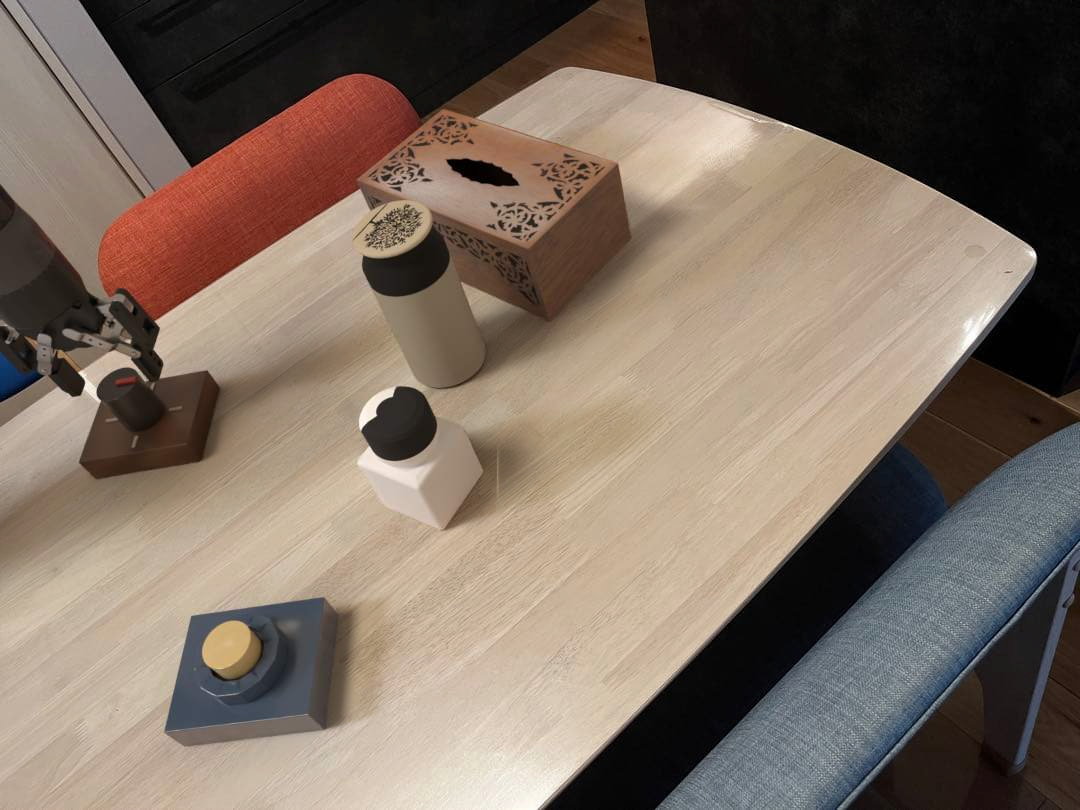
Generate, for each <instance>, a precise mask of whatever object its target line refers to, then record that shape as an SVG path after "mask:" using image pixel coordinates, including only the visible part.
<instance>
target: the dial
mask: <svg viewBox="0 0 1080 810" xmlns="http://www.w3.org/2000/svg"><path fill="white" fill-rule="evenodd" d="M95 390H96V391H95V393H96V397H97V398H98V400H99V401H100V402H101V401H102V403H103V404H104V405H105V406H106V407H107V408H108V409H109V410H110V411H111V412H112V413H113V415H114V416H115V417H116V418H117V419H118V420H119V421H120V422H121V423H122V424H123V426H124V427H125V428H126V429H128V430H130V431H141V430H144V429H146V428H148V427H150V426H152V425H153V424H154V423H155V422H157V420H158V419H159V418H160V417H161V415H162V413H163V410H164V405H163V402H162V401H161V400H160V399H159V397H158V396H157V395H156V394H155V393H154V391H153V390H152V389H151V388H150V387H149V385H148V384H147V383H146V382H145V380H144V378H143V377H142V376H141V375H140V374H139V372H138V371H137V370H136V369H134V368H132V367H130V366H129V367H128V366H127V367H126V366H125V367H120V368H117V369H115V370H113V371H111V372H109V373H108V374H106V375H105V376H104V377H102V379H101V380H100V382H99V383H98V385H97V387H96V389H95Z"/></svg>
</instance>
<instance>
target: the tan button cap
mask: <svg viewBox="0 0 1080 810" xmlns="http://www.w3.org/2000/svg"><path fill="white" fill-rule="evenodd" d="M261 652H262V644H261V640H260V639H259V637H258V636H257V635H256V634H255V633H254V632H253V631H252V630H251V629H250V628H249V627H248V626H247V625H246V624H244V623H243V622H240V621H228V622H225V623H222V624H220V625H219V626H217V627H216V628H215V629H214V630H212V631H211V633H210V634H209V635H208V636H207V638H206V640H205V642H204V644H203V648H202V657H203V660H204V662H205V663H206V664H207V665H208V666H209V667H210V668H211V669H212V670H213V671H215V672H216V673H217V674H218V675H219V676H221V677H223V678H225V679H236V678H240V677H242V676H244V675H246V674H247V673H248V672H250V671H251V670H252V669H253V668H254V667H255V665H256V664H257V662H258V661H259V659H260V656H261Z"/></svg>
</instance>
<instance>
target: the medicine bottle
mask: <svg viewBox="0 0 1080 810" xmlns="http://www.w3.org/2000/svg"><path fill="white" fill-rule="evenodd" d="M358 427H359V430H360V433H361V434H362V436H363V438H364V440H365V441H366V443H367V444H368V447H367V448H366V449H365V451H364V452H363V453H362V454H361V456H360V457H359V458H358V460H357V466H358V468H359V470H360V471H361V472H362V475H363V476H364V478H365V479H366V481H367V483H368V484H369V485H370V487H371V489H372V490H373V491H374V493H375V495H376V496H377V498H378V500H379V501H380V503H381V504H382V506H383V507H385V508H387V509H390V510H392V511H394V512H396V513H398V514H401V515H404V516H405V517H408V518H410V519H413V520H415V521H417V522H420V523H421V524H425V525H426V526H428V527H432V528H434V529H435V530H439V531H444V530H445V529H446V528H447V526H448V525H449V523H450V522H451V520H452V519H453V518H454V516H455V515H456V513H457V511H459V509H460V507H461V506H462V504H463V503H464V501H465V500H466V498H467V497H468V495H469V494H470V493H471V491H473V488H474V487H475V485H476V484H477V482H478V481H479V479H480V478H481V477H482V475H483V474H484V468H483V466H482V464H481V462H480V460H479V457H478V456H477V453H476V450H475V449H474V446H473V445H472V442H471V440H470V437H469V435H468V433H467V431H466V429H465V426H463V425H462V424H459V423H456V422H453V421H451V420H448V419H445V418H442V417H440V416H437V415H435V413H434V411H433V409H432V407H431V405H430V402H429V401H428V399H427V397H426V396H425V394H424V393H423V392H422V391H421V390H419V389H417V388H415V387H412V386H407V385H406V386H405V385H398V386H396V385H395V386H391V387H388V388H386V389H383V390H381V391H379V392H377V393H376V394H374V395H373V396H372V397H371V398H370V399H369V400H368V401H367V402H366V403H365V404H364V406H363V407H362V410H361V412H360V414H359V418H358Z"/></svg>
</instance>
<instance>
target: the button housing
mask: <svg viewBox="0 0 1080 810" xmlns="http://www.w3.org/2000/svg"><path fill="white" fill-rule="evenodd" d="M228 621H240V622H243V623H244V624H246V625H247V626H248V627H249V628H250V629H251V630H252V631H253V632H254V633H255V634H256V635H257V636H258V637H259V639H260V640H261V644H262V652H261V656H260V659H259V661H258V662H257V664H256V665H255V667H254V668H253V669H252V670H251V671H250V672H248V673H247V674H246V675H244V676H242V677H240V678H236V679H225V678H223V677H221V676H219V675H218V674H217V673H216V672H215V671H213V670H212V669H211V668H210V667H209V666H208V665H207V664H206V663H205V662H204V660H203V657H202V648H203V644H204V642H205V640H206V638H207V636H208V635H209V634H210V633H211V631H212V630H214V629H215V628H216V627H217V626H219V625H220V624H222V623H225V622H228ZM338 622H339V613H338V612H337V610H336V609H335V608H334V607H333V606H332V604H331V603H330V602H329V601H328V600H327V599H326V597H325V596H321V597H314V598H307V599H300V600H292V601H286V602H278V603H273V604H263V605H257V606H250V607H243V608H235V609H230V610H222V611H221V610H220V611H216V612H208V613H201V614H200V613H199V614H195V615H191V616H190V619H189V622H188V627H187V631H186V636H185V641H184V644H183V648H182V653H181V657H180V661H179V665H178V670H177V674H176V679H175V684H174V687H173V691H172V692H173V693H172V696H171V701H170V705H169V710H168V713H167V719H166V722H165V727H164V731H163V733H164V734H165V735H166V736H168V737H169V738H171V739H172V740H175V742H177V743H178V744H180V745H181V746H183V747H192V746H193V747H194V746H201V745H210V744H219V743H226V742H234V741H242V740H251V739H260V738H268V737H276V736H285V735H294V734H300V733H301V734H303V733H309V732H317V731H318V732H319V731H325V730H326V723H327V714H328V707H329V697H330V688H331V680H332V674H333V673H332V672H333V664H334V656H335V646H336V638H337V630H338Z"/></svg>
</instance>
